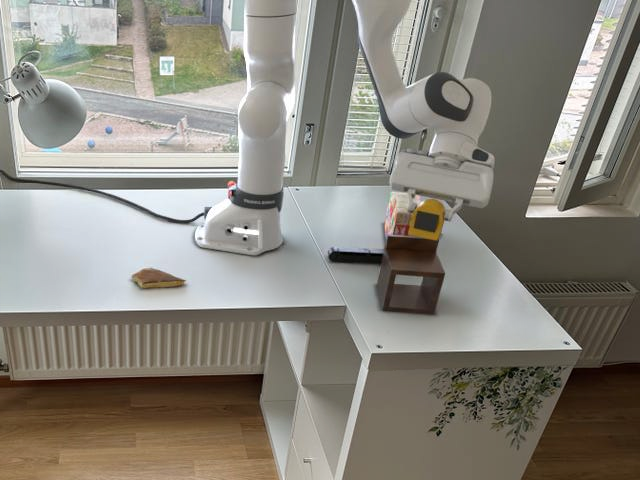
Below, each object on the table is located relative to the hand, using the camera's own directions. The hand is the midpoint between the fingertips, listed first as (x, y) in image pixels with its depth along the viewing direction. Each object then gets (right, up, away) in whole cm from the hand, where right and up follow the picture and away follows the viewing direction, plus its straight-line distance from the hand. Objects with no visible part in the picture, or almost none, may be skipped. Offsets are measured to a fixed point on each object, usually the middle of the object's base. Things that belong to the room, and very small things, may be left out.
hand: (428, 216), depth 143 cm
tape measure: (0, -3, +3) cm, 4 cm away
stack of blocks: (+5, +1, +37) cm, 37 cm away
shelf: (-1, -16, +11) cm, 20 cm away
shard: (-57, -11, +17) cm, 60 cm away
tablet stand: (-6, -6, +27) cm, 28 cm away
